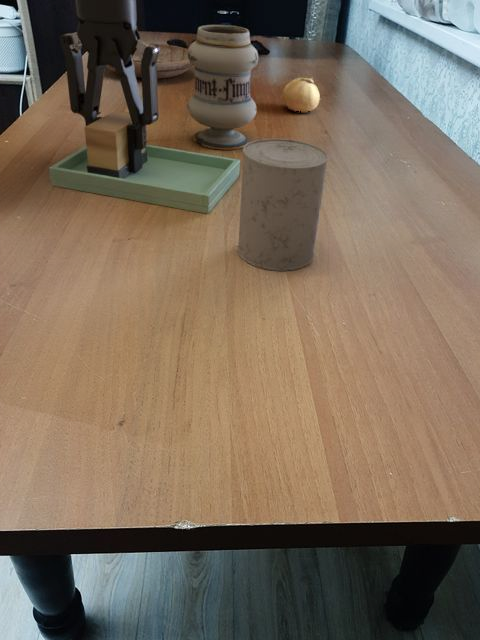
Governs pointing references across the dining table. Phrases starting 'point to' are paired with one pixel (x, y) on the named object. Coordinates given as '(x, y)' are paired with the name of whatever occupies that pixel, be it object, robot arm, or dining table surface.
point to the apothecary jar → (222, 85)
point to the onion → (301, 95)
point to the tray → (156, 178)
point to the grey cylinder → (280, 203)
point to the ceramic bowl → (165, 61)
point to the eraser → (110, 145)
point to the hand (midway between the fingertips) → (118, 166)
